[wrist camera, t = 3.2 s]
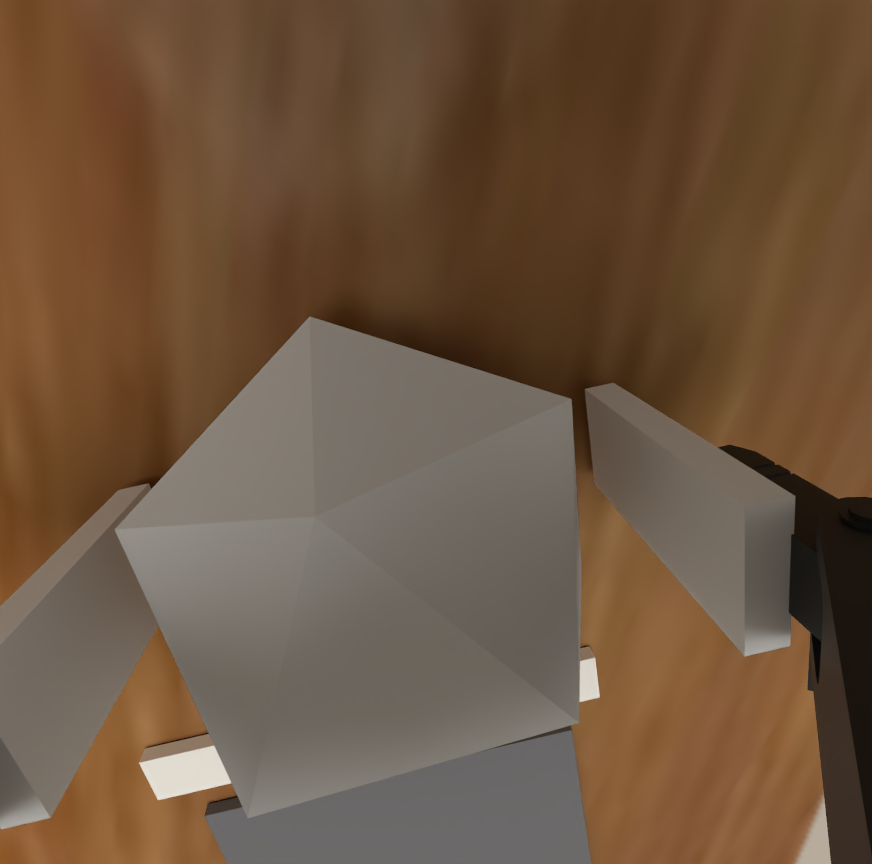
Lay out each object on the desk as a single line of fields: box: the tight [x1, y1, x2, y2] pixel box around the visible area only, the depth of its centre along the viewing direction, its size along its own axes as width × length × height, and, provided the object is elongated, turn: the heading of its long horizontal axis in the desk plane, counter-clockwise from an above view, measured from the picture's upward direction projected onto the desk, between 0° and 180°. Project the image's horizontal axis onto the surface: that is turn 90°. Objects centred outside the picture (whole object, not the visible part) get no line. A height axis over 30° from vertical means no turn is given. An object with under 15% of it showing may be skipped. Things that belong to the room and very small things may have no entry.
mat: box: [139, 646, 600, 864], centre depth 20 cm, size 14×15×1 cm
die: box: [115, 317, 581, 818], centre depth 11 cm, size 8×9×10 cm
